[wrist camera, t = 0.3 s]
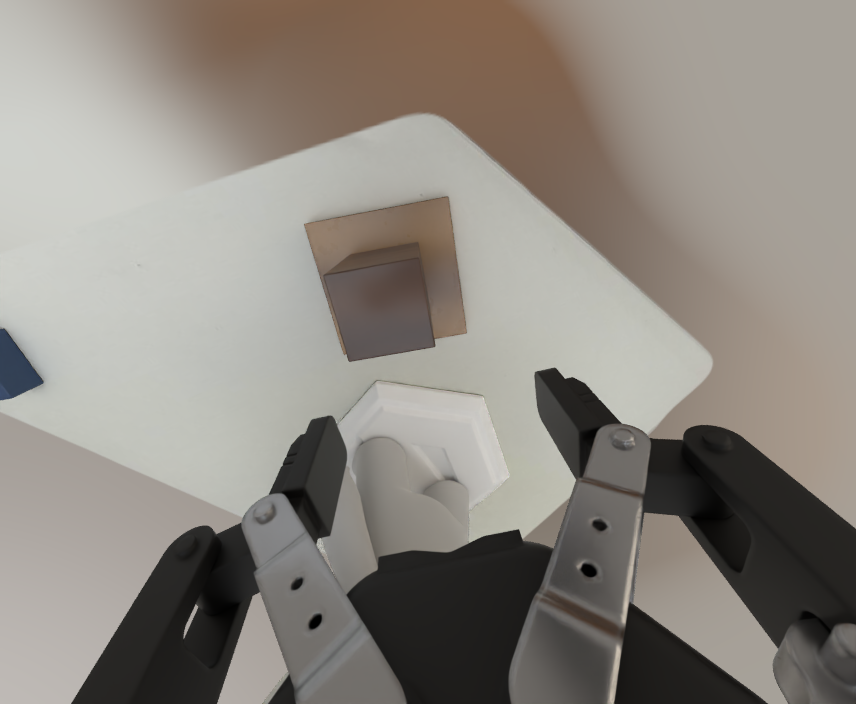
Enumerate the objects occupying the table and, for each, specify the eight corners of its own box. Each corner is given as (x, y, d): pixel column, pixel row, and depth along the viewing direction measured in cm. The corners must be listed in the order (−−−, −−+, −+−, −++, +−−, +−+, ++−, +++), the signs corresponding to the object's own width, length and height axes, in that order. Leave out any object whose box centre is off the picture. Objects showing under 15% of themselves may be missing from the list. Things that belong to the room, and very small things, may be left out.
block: (309, 222, 29) (256, 232, 19) (446, 196, 29) (461, 193, 19) (346, 348, 34) (319, 406, 24) (464, 328, 33) (484, 378, 24)
